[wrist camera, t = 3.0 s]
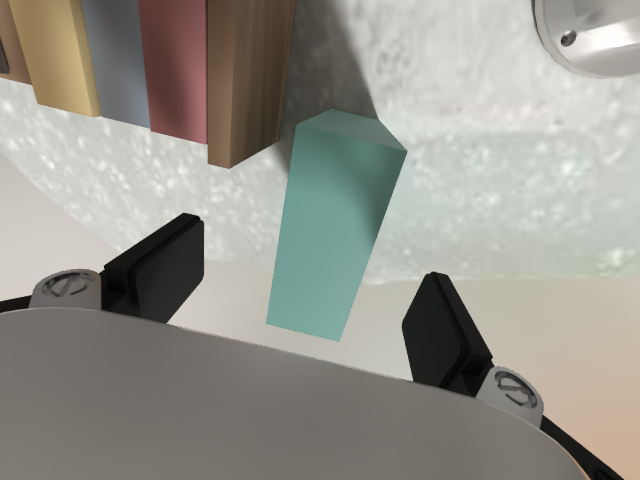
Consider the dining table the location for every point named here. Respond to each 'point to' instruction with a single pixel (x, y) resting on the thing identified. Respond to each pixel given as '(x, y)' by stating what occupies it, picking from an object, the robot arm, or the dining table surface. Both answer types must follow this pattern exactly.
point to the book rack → (159, 65)
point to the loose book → (331, 219)
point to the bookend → (3, 63)
